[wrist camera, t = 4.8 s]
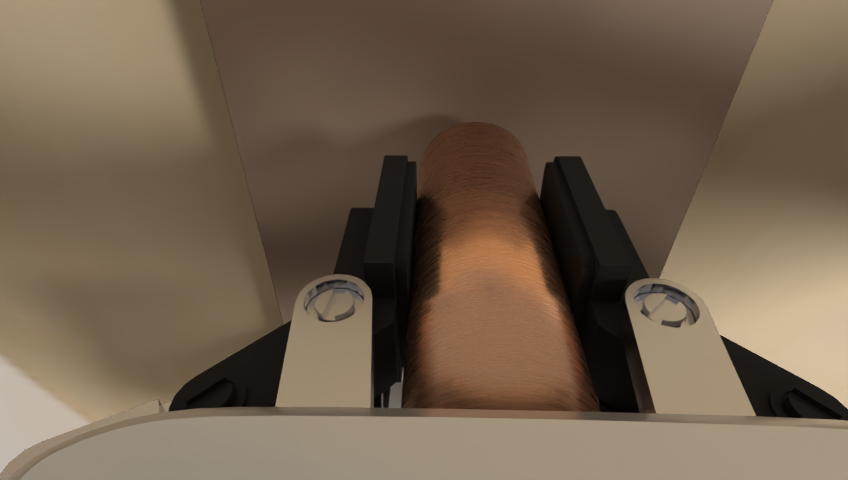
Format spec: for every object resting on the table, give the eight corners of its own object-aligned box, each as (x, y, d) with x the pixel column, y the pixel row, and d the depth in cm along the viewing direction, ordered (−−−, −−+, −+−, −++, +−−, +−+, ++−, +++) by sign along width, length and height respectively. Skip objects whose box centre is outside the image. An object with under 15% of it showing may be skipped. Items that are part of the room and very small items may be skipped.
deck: (549, 487, 32) (556, 528, 30) (340, 480, 33) (333, 520, 31) (807, -257, 11) (890, -285, 9) (183, -257, 11) (127, -284, 9)
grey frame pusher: (532, 420, 22) (578, 708, 15) (373, 416, 23) (338, 698, 15) (611, 108, 13) (849, 451, 5) (340, 104, 13) (201, 431, 6)
